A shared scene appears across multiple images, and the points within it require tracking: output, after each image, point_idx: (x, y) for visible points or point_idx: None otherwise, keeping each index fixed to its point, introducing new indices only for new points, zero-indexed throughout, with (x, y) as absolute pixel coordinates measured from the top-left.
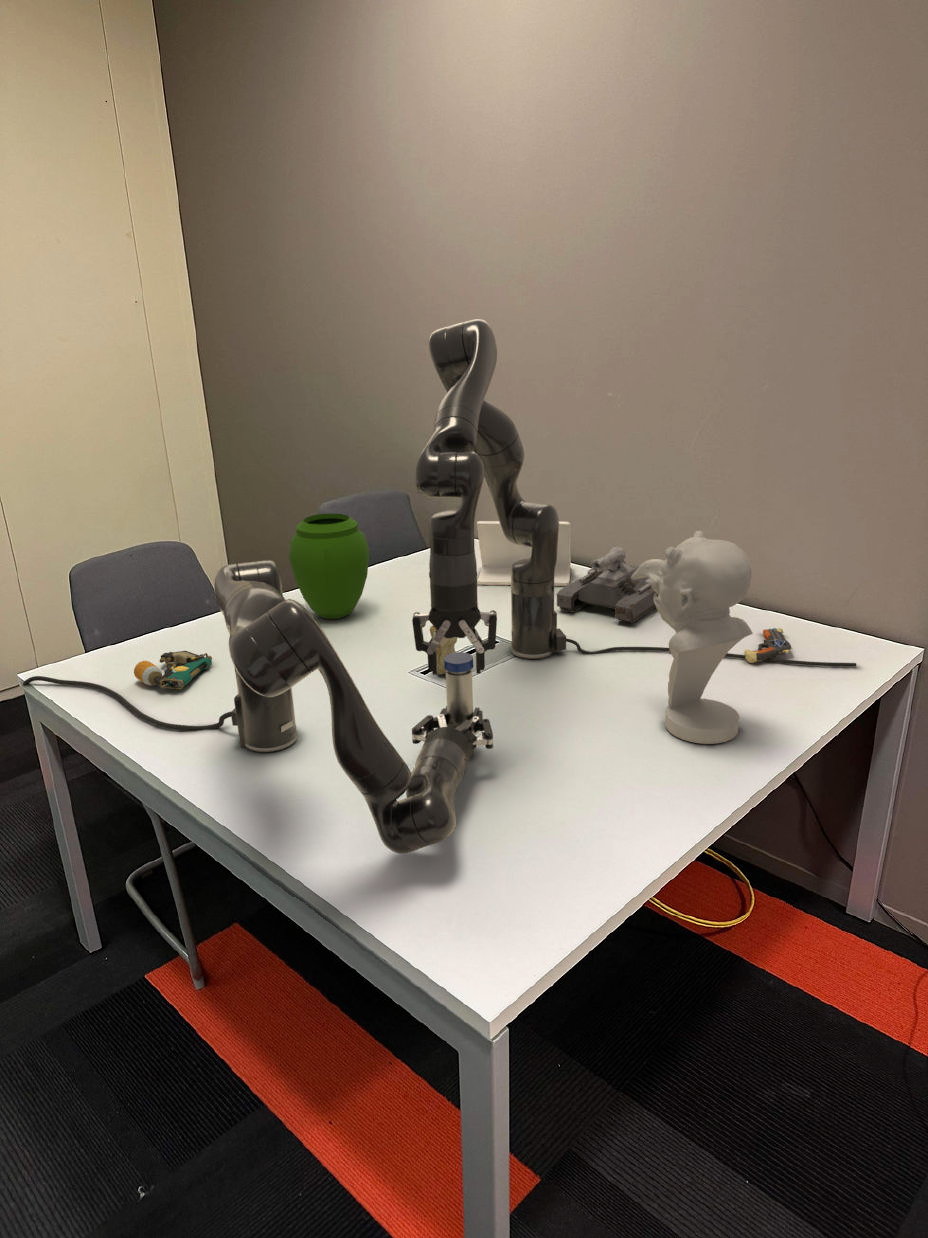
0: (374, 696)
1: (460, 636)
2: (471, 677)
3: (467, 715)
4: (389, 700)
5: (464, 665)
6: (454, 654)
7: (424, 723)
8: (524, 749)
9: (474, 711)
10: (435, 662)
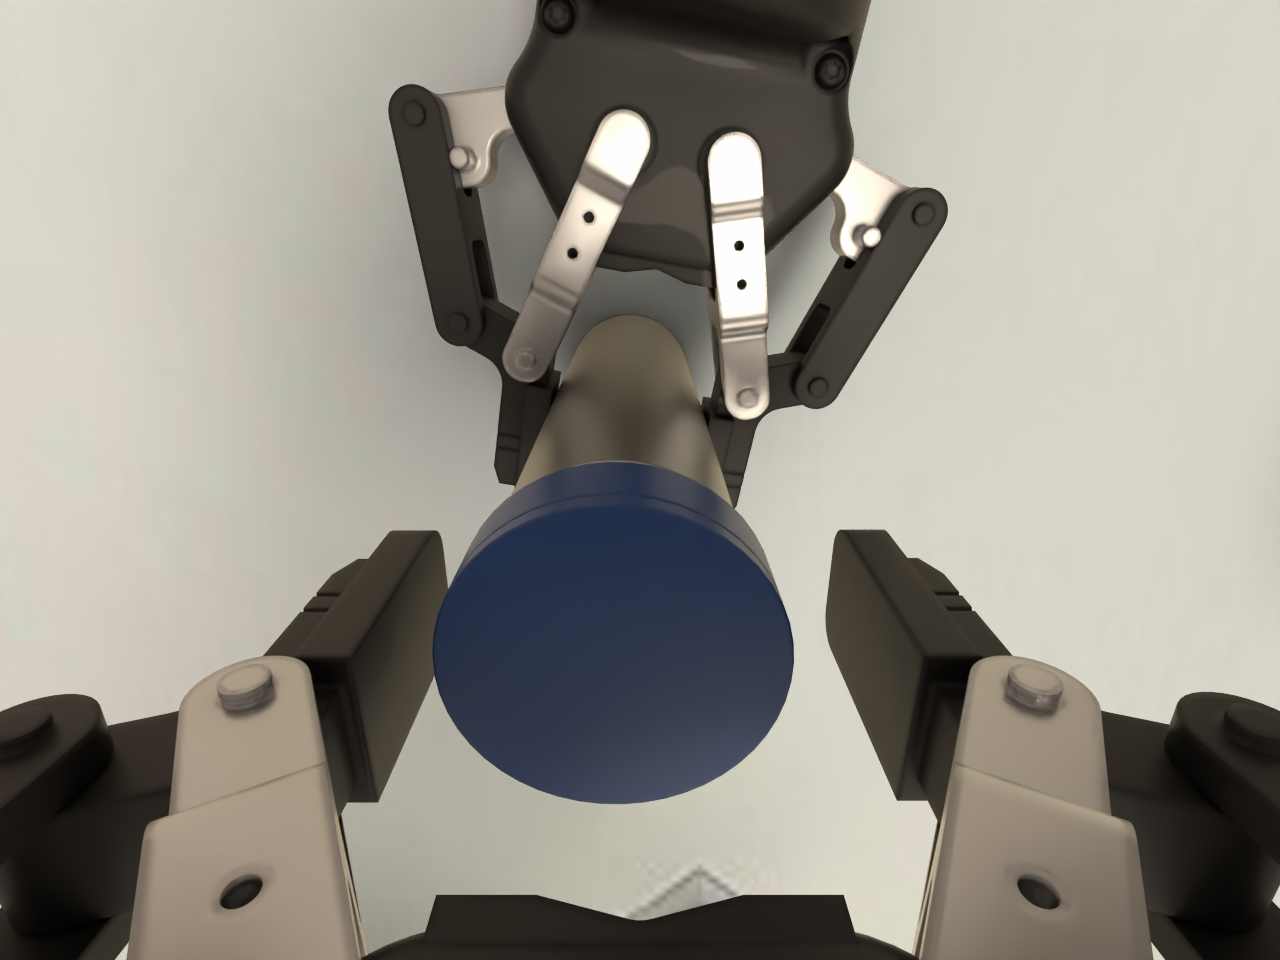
0: None
1: (519, 929)
2: None
3: (576, 376)
4: None
5: (530, 507)
6: (661, 757)
7: (856, 295)
8: (348, 398)
9: None
10: (893, 593)
